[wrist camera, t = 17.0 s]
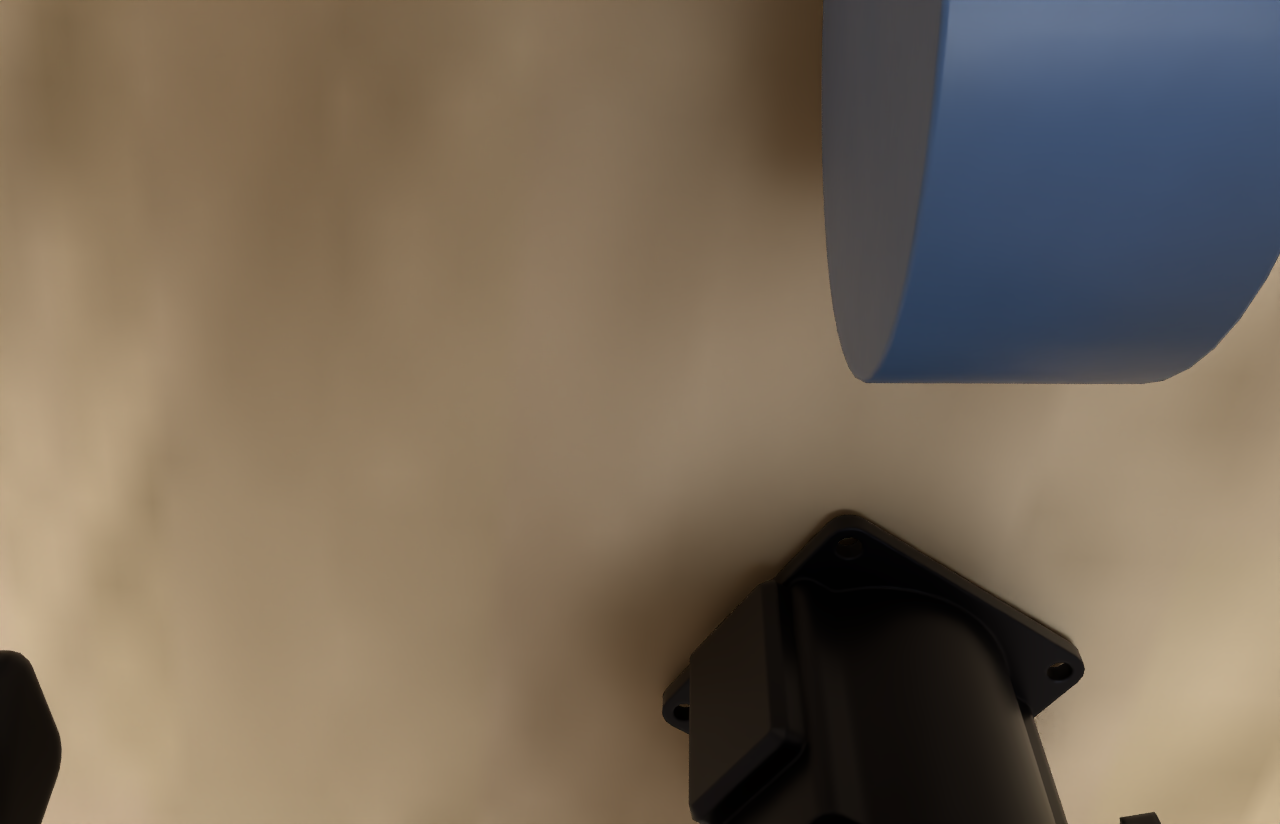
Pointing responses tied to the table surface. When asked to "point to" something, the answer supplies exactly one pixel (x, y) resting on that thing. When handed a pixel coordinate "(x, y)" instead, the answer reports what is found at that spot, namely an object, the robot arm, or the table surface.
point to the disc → (1047, 184)
